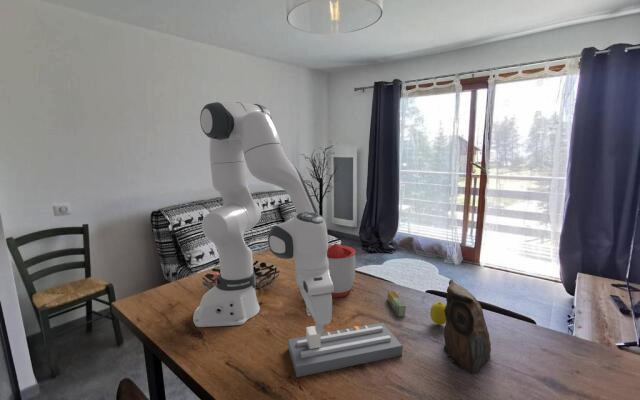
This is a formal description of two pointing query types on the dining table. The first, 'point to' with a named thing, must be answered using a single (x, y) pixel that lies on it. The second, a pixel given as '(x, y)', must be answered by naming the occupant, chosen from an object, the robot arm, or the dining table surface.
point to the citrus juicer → (341, 268)
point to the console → (344, 349)
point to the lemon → (438, 313)
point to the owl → (465, 330)
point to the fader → (312, 338)
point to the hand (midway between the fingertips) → (314, 322)
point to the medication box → (396, 303)
